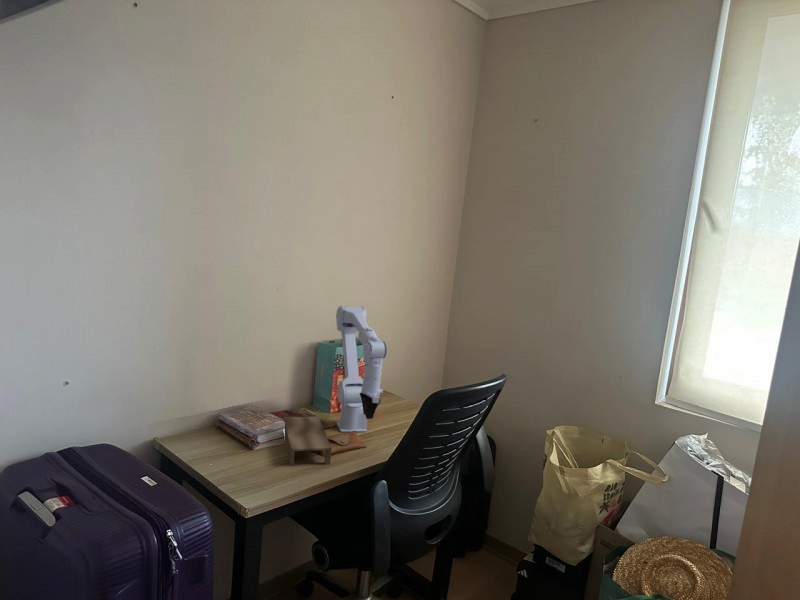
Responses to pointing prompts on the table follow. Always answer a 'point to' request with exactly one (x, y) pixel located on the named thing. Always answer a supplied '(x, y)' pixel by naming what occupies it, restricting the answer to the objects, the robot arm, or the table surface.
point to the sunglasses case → (343, 443)
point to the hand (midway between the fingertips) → (367, 416)
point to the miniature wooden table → (305, 436)
